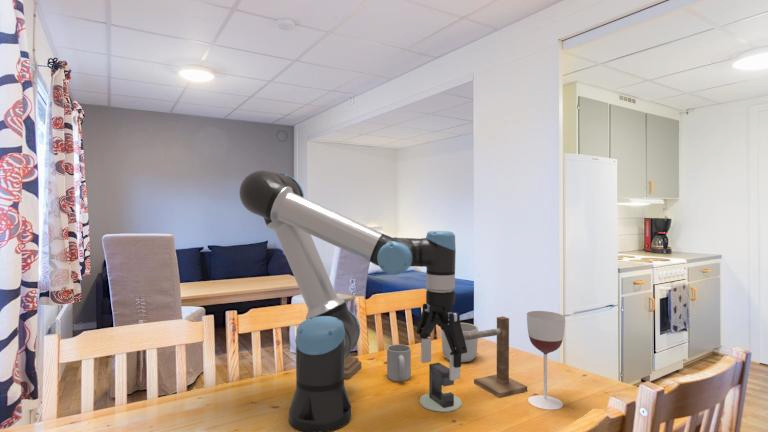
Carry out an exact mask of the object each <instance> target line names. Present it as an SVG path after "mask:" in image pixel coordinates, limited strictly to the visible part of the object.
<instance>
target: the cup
mask: <svg viewBox="0 0 768 432" xmlns="http://www.w3.org/2000/svg"><path fill="white" fill-rule="evenodd" d="M411 355H412V348H411V346H410V345H406V344H391V345H388V346H387V347H386V377H387V379H388V380H389V381H390V380H391V381H392V382H399V383H400V382H406V381H409V380H410V378H411V376H412V374H411V373H412V368H411V367H412V360H411V359H412V356H411Z"/></svg>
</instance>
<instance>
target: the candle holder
mask: <svg viewBox="0 0 768 432" xmlns="http://www.w3.org/2000/svg"><path fill="white" fill-rule="evenodd" d="M335 293H336V296H337V297H338V298H340V299H342V300H344V301H345V303H346V305H347V306H348V304H349V302H351V301H354V300H355V299H356V295H355V294H353V293H349V292H347V293H346V292H335ZM361 369H362V361H359V358H358V357H356V356H351V355H350V353H349V354H348V355H347V356H346V357H345V359H344V380H350V379H351V378H352V377H354V375H356V374H357V372H358V371H360V370H361Z"/></svg>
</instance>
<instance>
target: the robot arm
mask: <svg viewBox="0 0 768 432" xmlns="http://www.w3.org/2000/svg"><path fill="white" fill-rule="evenodd" d="M239 186H240V187H239V198H240V201H241V204H242V205H243V207H245V209H246V210H248V211H249V212H250V213H252V214H253V215H257V216H259V217H262V218H263V220H264V223H265V226H266V227H267V228H268V229H270V230H273V231H275V234H276V236H277V239H278V241H279V243H280V245H281V249H282V251H283V253H284V256H285V258H286V260H287V263H288V265H289V267H290V269H291V270H290V271H291V272H292V275H293V277H294V279H295V281H296V284H297V286H298V289H299V292H300V293H301V296H302V298H303V300H304V302H305V305H306V308H307V313H306V316H305V320H302V322H300V323H299V324H298V326H297V328H296V335H295V342H294V343H295V384H296V385H295V389H294V390H295V391H294V393H293V395H292V396H293V397H292V400H291V403H290V406H289V409H288V422H289V424H290V426H292V427H293V428H295V430H298V431H301V432H331V431H334V430H337V429H340V428H342V427H344V426H345V425H347V424H348V423H349V422H350V421H351V419H352V405H351V402H350V401H351V400H350V397H349V395H348V392H347V389H346V385H345V379H344V359H345V357H346V356H347V355H348V354H349V355H350V353H351V351H352V350H354V348H355V347H356V345H357V344H358V342H359V339H360V335H361V324H360V322H359V319H358V317H357V316H356V314H355V313H353V312H352V311H350V310H349V308H348V304H347V305H346V303H345V301H344V300H342V299H340V298H338V297H337V296H336V293H337V292H336V291H335V289H334V286H333V284H332V282H331V279H330V277H329V275H328V273H327V270H326V268H325V266H324V263H323V261H322V259H321V256H320V254H319V252H318V248H317V247H316V245H315V242H314V240H313V237H316V238H318V239H320V240H322V241H325V242H327V243H329V244H330V245H333V246H335V247H337V248H340V249H342V250H344V251H345V252H348V253H350V254H353V255H355V256H356V257H358V258H361V259H363V260H365V261H368V262H370V263H372V264H373V265H375V266H378V267H379V268H380V269H381V270H382V271H383V272H384V273H385V274H387V275H392V276H396V275H400V274H404V273H405V272H406V271H407V270H408V269H409V268H410V267H421V268H425V267H426V273H425V275H426V276H425V277H426V279H425V288H426V289H427V290H426V291H425V303H423V304H422V310H421V315H420V318H419V321H418V324H417V328H416V334H417V335H419V337H420V347H421V348H420V349H421V350H420V351H421V353H420V357H421V359H420V362H421V363H422V364H425V363H431V362H432V338H431V337H432V335H431V334H432V332H433V331H434V329H435V327H437V326H438V327H440V329H442V330H443V331H444V333H445V336H446V338H447V341H448V343H449V346H450V349H451V351H452V352H451V353H450V360H449V369H450V380H451V381H452V380H454V381H455V380H457V381H458V380H461V367H462V362H461V354H463V353H467V347H466V343H465V340H464V336H463V332H462V328H461V324H460V323H461V318H460V317H461V316H460V313H459V312H452V307H453V306H454V305H455V304H456V292H455V287H456V281H455V280H456V251H457V249H456V235H455V233H454V232H452V231H448V230H447V231H446V230H429V231H428V232H427V233H426V237H423V238H413V237H412V238H410V237H396V236H395V237H391V236H389V235H387V234H384V233H382V232H381V231H378V230H376V229H374V228H371V227H370V226H367V225H366V224H365V225H364V224H363V223H360V222H358V221H356V220H354V219H352V218H350V217H347V216H345V215H343V214H341V213H339V212H336V211H334V210H332V209H330V208H327V207H325V206H323V205H321V204H318V203H316V202H314V201H313V200H310V199H308V198H305V195H304V194H305V193H304V191H303V188H302V186H301V184H300V183H299V181H298V180H296V178H293V177H292V176H290V175H288V174H286V173H279V172H278V173H277V172H272V171H269V170H256V171H253V172H251V173H250V174H248V175H247V176H245V178H244V179H243V180H242V182H241V183H240V185H239ZM312 236H313V237H312ZM448 323H449V325H448ZM436 325H437V326H436ZM455 348H456V349H455Z"/></svg>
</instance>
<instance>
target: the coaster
mask: <svg viewBox="0 0 768 432" xmlns="http://www.w3.org/2000/svg"><path fill="white" fill-rule="evenodd" d="M442 393H443V394H445V393H446V392H442ZM462 404H463V402H462V399H460V398H459V396H456V395H455V394H454V406H451V407H447V408H443V407H442V406H440V405H439V404H438V403H436V402H435V401H433V400H432V399H431V398H429V392H428V393H425V394H423V395H422V396H421V397H420V398H419V405H420V406H421V407H422V408H423V409H426V410H428V411H432V412H436V413H450V412H455V411H457V410H459V409H460V408H461V407H462Z"/></svg>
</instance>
